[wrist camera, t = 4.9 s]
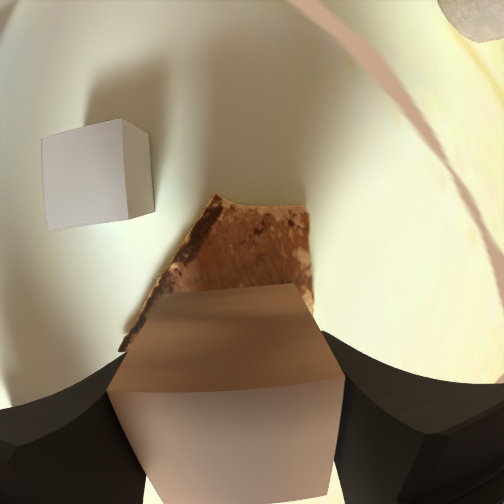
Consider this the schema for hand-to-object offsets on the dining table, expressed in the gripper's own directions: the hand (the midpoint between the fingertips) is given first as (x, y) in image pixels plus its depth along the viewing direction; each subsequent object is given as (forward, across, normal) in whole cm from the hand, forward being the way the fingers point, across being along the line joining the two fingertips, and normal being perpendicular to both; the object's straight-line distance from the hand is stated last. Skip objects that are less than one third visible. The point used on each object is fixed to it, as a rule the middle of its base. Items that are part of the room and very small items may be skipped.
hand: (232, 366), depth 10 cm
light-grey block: (+6, +6, -7) cm, 11 cm away
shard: (+7, 0, 0) cm, 7 cm away
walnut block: (+2, 0, 0) cm, 2 cm away
